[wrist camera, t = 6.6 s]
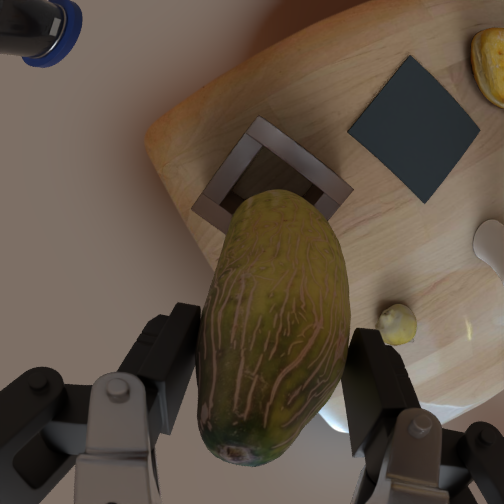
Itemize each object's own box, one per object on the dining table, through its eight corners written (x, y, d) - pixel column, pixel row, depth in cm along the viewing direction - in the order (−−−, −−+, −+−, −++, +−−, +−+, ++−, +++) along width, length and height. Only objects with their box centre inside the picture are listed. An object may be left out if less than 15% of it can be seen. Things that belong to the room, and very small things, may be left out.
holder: (207, 194, 41) (190, 209, 34) (263, 117, 37) (258, 114, 29) (282, 248, 43) (281, 274, 35) (341, 177, 39) (354, 189, 31)
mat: (347, 132, 36) (347, 132, 36) (409, 55, 32) (410, 55, 31) (423, 203, 38) (424, 204, 38) (479, 130, 34) (480, 130, 33)
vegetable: (283, 158, 23) (305, 295, 4) (337, 220, 24) (451, 449, 6) (224, 212, 25) (98, 431, 6) (278, 268, 26) (270, 521, 8)
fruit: (397, 349, 47) (359, 324, 44) (418, 318, 47) (383, 289, 44) (417, 365, 42) (380, 341, 39) (440, 333, 41) (407, 303, 38)
